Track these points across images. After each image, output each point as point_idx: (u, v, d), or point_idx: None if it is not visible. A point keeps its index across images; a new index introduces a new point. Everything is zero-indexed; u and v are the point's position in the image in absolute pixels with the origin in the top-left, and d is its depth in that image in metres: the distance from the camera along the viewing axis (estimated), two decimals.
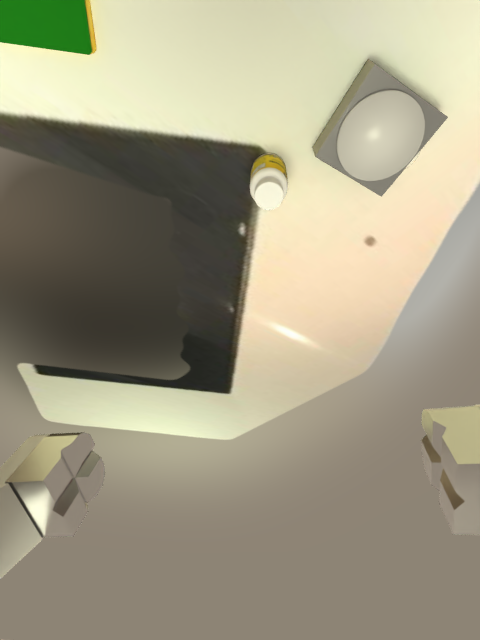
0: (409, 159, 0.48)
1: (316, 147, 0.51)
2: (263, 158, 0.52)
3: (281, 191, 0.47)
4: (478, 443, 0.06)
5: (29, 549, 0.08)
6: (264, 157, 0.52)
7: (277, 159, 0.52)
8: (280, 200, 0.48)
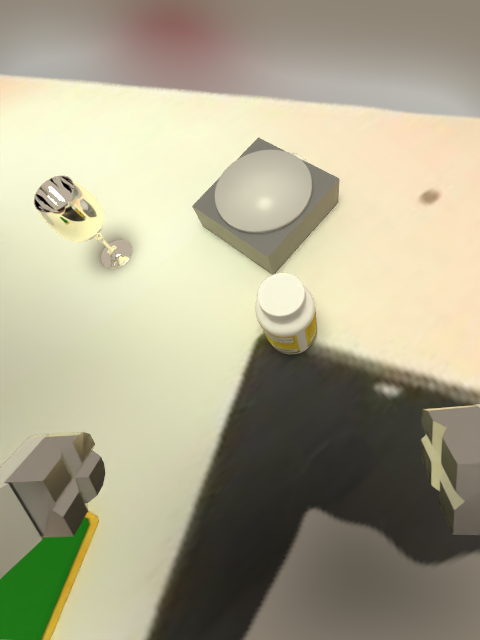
0: (291, 156, 0.40)
1: (266, 263, 0.39)
2: None
3: (276, 275, 0.30)
4: (478, 443, 0.06)
5: (29, 549, 0.08)
6: None
7: None
8: (290, 277, 0.29)
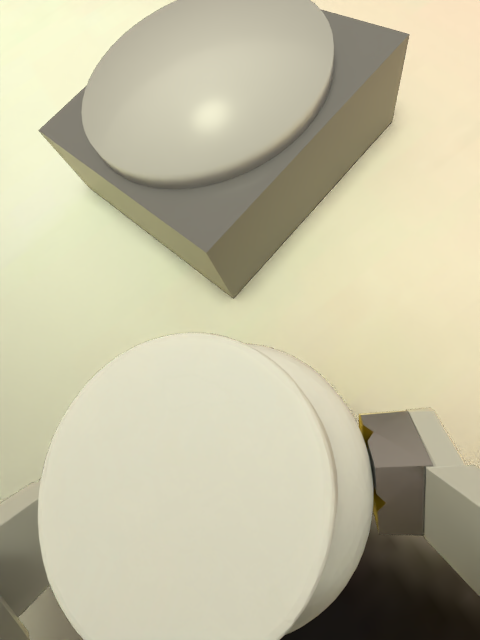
0: None
1: (210, 270, 0.15)
2: None
3: (163, 346, 0.05)
4: (398, 447, 0.06)
5: None
6: None
7: None
8: (241, 365, 0.05)
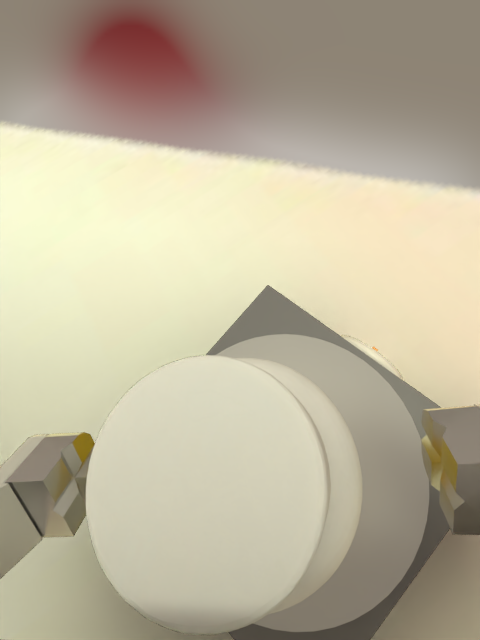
0: (360, 365, 0.15)
1: None
2: None
3: (186, 366, 0.06)
4: (478, 443, 0.06)
5: (29, 549, 0.08)
6: None
7: None
8: (251, 383, 0.06)
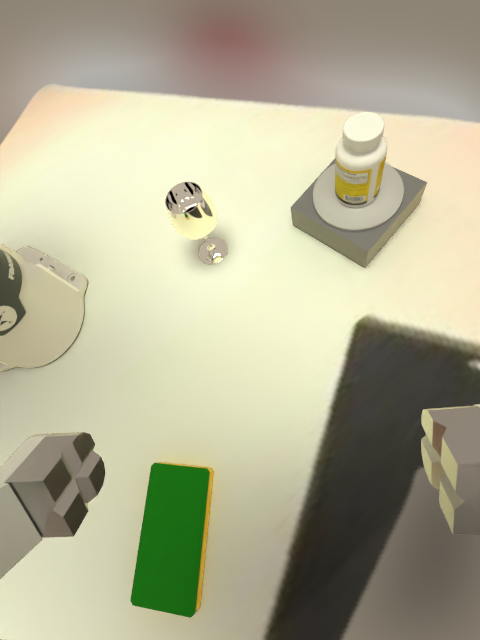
0: None
1: (362, 257, 0.45)
2: (335, 183, 0.43)
3: (358, 114, 0.37)
4: (478, 443, 0.06)
5: (29, 549, 0.08)
6: (335, 183, 0.43)
7: None
8: (370, 114, 0.36)
